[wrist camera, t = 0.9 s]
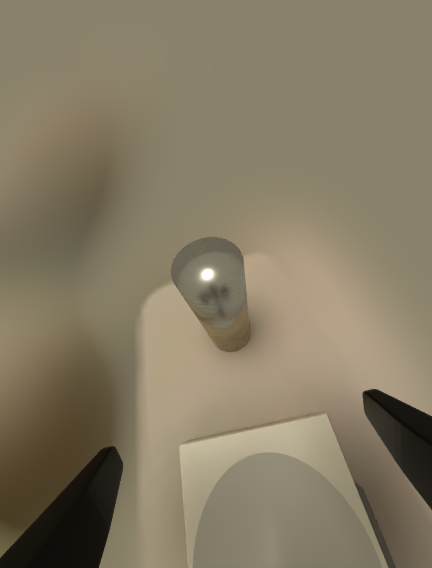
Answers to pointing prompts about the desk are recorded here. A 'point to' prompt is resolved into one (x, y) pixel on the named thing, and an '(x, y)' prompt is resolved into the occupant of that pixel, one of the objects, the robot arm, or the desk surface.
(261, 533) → the scale
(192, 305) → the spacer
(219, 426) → the desk surface
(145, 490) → the desk surface
